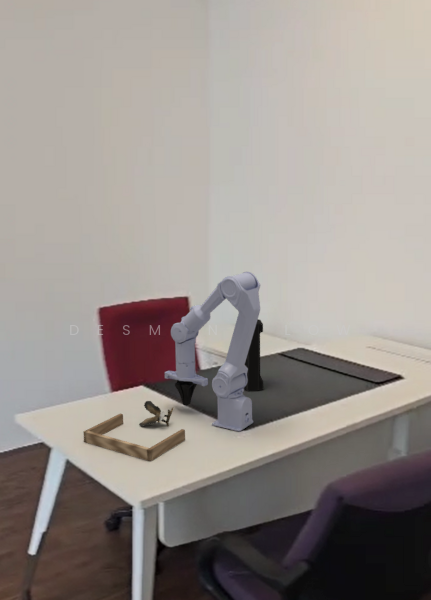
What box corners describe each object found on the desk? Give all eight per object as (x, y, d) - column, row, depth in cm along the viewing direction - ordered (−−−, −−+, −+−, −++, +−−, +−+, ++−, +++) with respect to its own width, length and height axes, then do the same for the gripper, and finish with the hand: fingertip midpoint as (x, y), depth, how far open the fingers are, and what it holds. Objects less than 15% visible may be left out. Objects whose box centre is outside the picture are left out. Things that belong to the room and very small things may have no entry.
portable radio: (242, 383, 223) (241, 311, 218) (259, 382, 223) (259, 310, 218) (245, 391, 215) (244, 317, 210) (263, 390, 216) (263, 316, 210)
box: (185, 440, 179) (184, 429, 178) (150, 461, 166) (150, 450, 166) (120, 423, 191) (120, 413, 190) (84, 441, 179) (83, 431, 178)
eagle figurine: (174, 415, 193) (144, 408, 195) (173, 401, 188) (143, 394, 190) (166, 436, 188) (136, 429, 190) (165, 423, 183) (134, 415, 184)
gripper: (213, 361, 195) (214, 404, 197) (173, 354, 202) (175, 396, 205) (199, 367, 189) (200, 412, 192) (159, 360, 197) (161, 403, 200)
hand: (186, 404), depth 198 cm, fingers closed
